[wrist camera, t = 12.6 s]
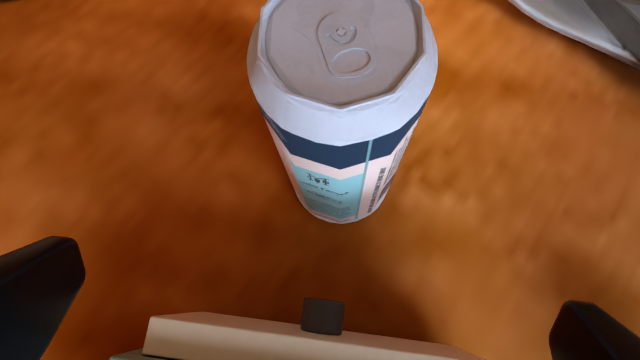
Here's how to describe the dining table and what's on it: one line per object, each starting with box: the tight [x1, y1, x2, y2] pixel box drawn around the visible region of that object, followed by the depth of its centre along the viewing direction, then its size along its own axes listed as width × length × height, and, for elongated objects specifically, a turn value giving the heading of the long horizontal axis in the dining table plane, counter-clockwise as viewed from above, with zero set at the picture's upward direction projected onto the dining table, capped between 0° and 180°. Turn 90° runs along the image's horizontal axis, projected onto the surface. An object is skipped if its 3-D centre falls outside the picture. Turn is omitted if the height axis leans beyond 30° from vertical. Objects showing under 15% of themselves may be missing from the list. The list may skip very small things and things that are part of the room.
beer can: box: [247, 0, 438, 224], centre depth 15 cm, size 5×5×12 cm
